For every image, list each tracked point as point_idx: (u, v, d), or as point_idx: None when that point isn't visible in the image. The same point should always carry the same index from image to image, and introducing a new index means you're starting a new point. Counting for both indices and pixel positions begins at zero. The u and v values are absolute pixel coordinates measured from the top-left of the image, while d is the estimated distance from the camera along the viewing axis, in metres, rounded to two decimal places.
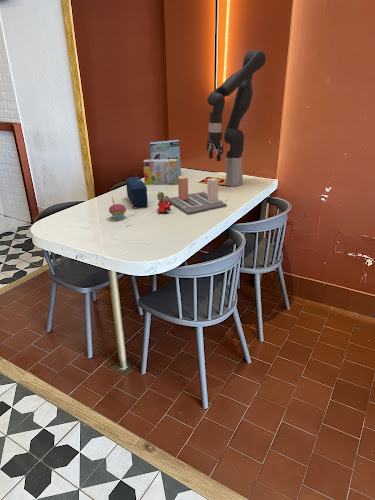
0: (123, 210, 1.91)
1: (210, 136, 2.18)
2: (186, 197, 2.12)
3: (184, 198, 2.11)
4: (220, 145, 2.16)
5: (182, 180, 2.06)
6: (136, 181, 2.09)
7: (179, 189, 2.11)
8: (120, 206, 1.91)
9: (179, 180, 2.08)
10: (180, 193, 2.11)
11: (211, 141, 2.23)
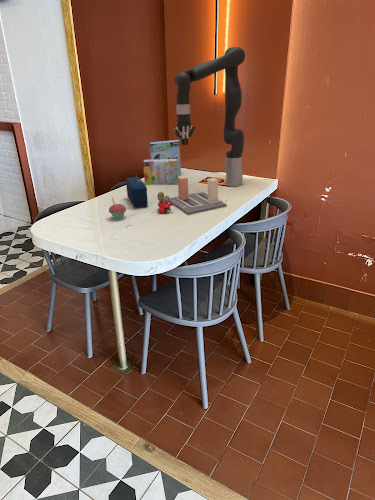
0: (123, 210, 1.91)
1: (188, 118, 2.10)
2: (186, 197, 2.12)
3: (184, 198, 2.11)
4: None
5: (182, 180, 2.06)
6: (136, 181, 2.09)
7: (179, 189, 2.11)
8: (120, 206, 1.91)
9: (179, 180, 2.08)
10: (180, 193, 2.11)
11: (181, 124, 2.12)
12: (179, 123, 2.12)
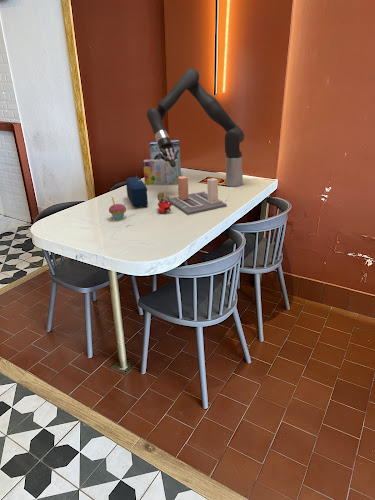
0: (123, 210, 1.91)
1: (167, 140, 2.16)
2: (186, 197, 2.12)
3: (184, 198, 2.11)
4: None
5: (182, 180, 2.06)
6: (136, 181, 2.09)
7: (179, 189, 2.11)
8: (120, 206, 1.91)
9: (179, 180, 2.08)
10: (180, 193, 2.11)
11: (164, 148, 2.16)
12: (161, 147, 2.16)
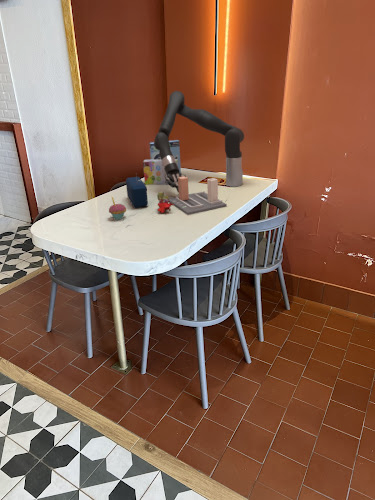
0: (123, 210, 1.91)
1: (174, 166, 2.14)
2: (186, 197, 2.11)
3: (184, 199, 2.11)
4: None
5: (182, 180, 2.06)
6: (136, 181, 2.09)
7: (179, 189, 2.11)
8: (120, 206, 1.91)
9: (179, 180, 2.08)
10: (180, 193, 2.10)
11: (170, 174, 2.15)
12: (168, 173, 2.15)
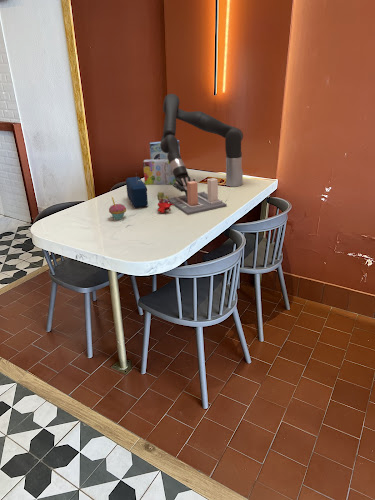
0: (123, 210, 1.91)
1: (183, 169, 2.06)
2: (195, 203, 2.03)
3: (193, 204, 2.03)
4: None
5: (191, 185, 1.98)
6: (136, 181, 2.09)
7: (188, 195, 2.02)
8: (120, 206, 1.91)
9: (188, 185, 1.99)
10: (189, 199, 2.02)
11: (179, 178, 2.06)
12: (177, 177, 2.06)
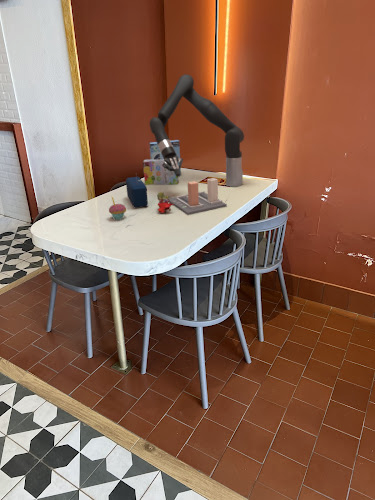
0: (123, 210, 1.91)
1: (171, 149, 2.15)
2: (196, 203, 2.02)
3: (194, 205, 2.02)
4: (182, 161, 2.17)
5: (192, 185, 1.97)
6: (136, 181, 2.09)
7: (189, 195, 2.02)
8: (120, 206, 1.91)
9: (189, 185, 1.99)
10: (190, 199, 2.01)
11: (168, 158, 2.15)
12: (165, 157, 2.15)
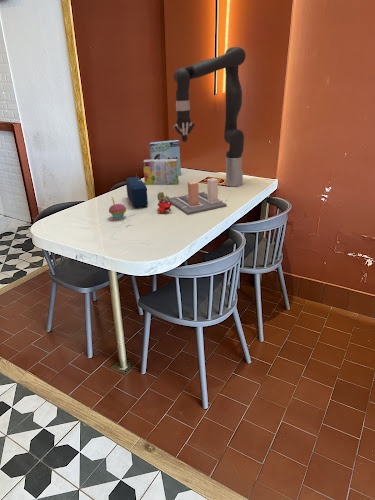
0: (123, 210, 1.91)
1: (187, 114, 2.09)
2: (196, 203, 2.02)
3: (194, 205, 2.02)
4: None
5: (192, 185, 1.97)
6: (136, 181, 2.09)
7: (189, 195, 2.02)
8: (120, 206, 1.91)
9: (189, 185, 1.99)
10: (190, 199, 2.01)
11: (180, 121, 2.12)
12: (179, 120, 2.11)
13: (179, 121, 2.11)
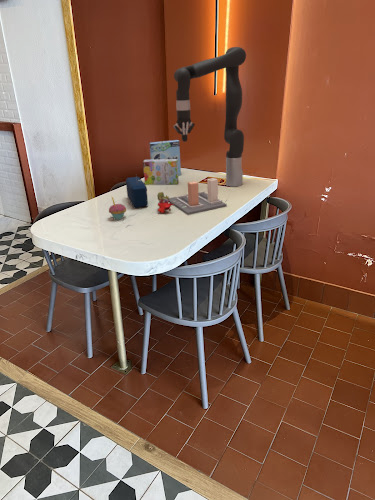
0: (123, 210, 1.91)
1: (187, 114, 2.09)
2: (196, 203, 2.02)
3: (194, 205, 2.02)
4: None
5: (192, 185, 1.97)
6: (136, 181, 2.09)
7: (189, 195, 2.02)
8: (120, 206, 1.91)
9: (189, 185, 1.99)
10: (190, 199, 2.01)
11: (181, 121, 2.11)
12: (179, 119, 2.11)
13: (179, 121, 2.11)
